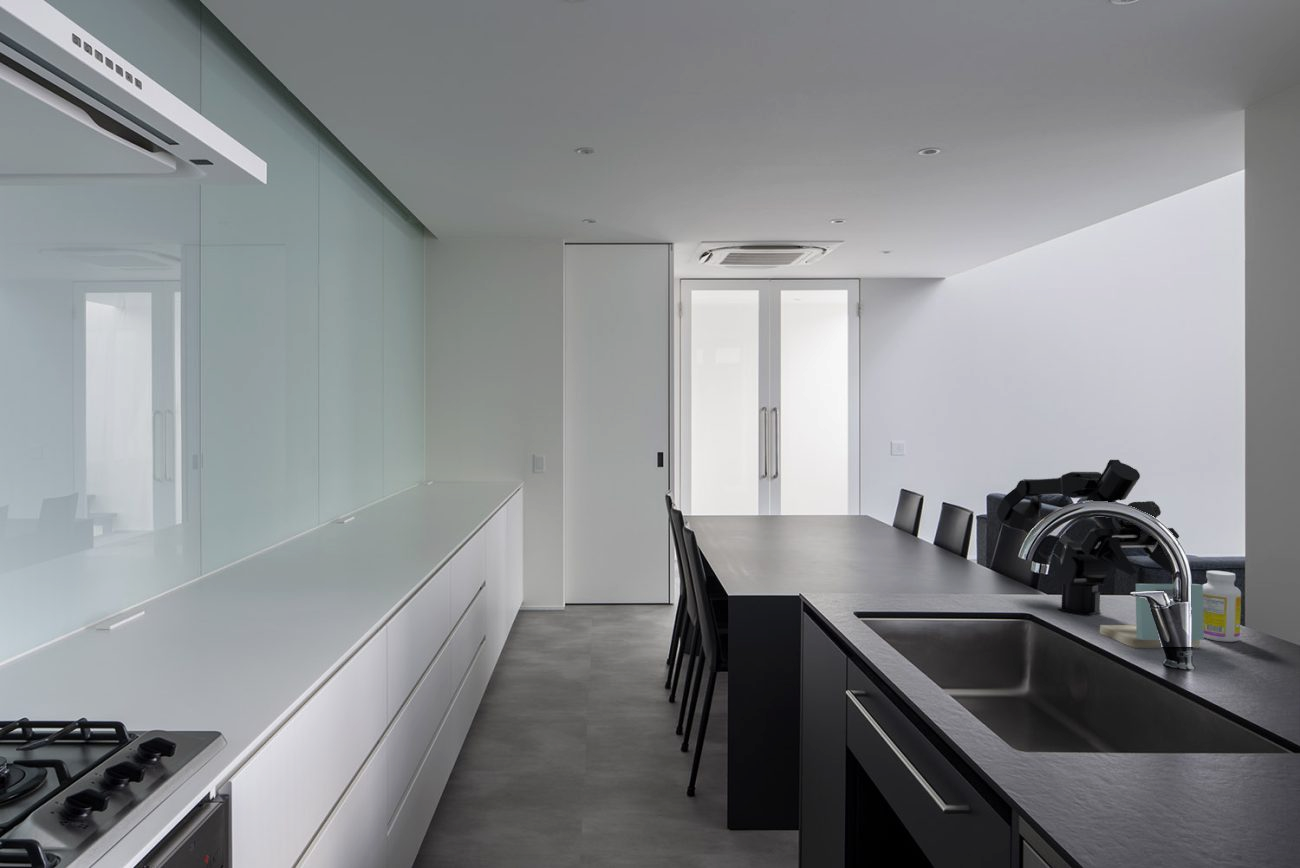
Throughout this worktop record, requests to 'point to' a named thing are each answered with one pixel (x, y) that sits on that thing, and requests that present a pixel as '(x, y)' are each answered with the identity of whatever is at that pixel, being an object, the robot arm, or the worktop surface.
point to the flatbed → (1132, 636)
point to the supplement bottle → (1221, 607)
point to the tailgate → (1143, 611)
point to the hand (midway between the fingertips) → (1154, 573)
